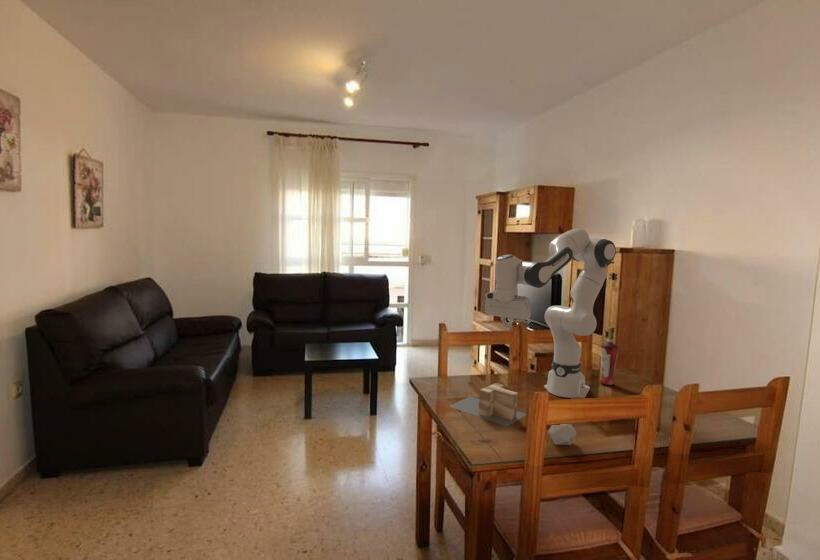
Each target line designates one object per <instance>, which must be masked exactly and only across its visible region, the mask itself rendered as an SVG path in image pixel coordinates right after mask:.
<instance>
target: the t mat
mask: <svg viewBox="0 0 820 560" xmlns="http://www.w3.org/2000/svg"><path fill="white" fill-rule="evenodd" d="M479 400H480V398H476V397H474V396H467V397H466V398H464V399H461V400H459V401H457V402H455V403H453V404H449V405H448V408H451V409H455V410H456V411H457V410H458V411H460V412H462V413H463V412H464V413H466V414H469V415H472V416H475V417H479V418H480V419H484V420H486V421H490V422H493V423H496V424H499V425H501V426H504V427H509V426H510V425H513V424H514V423H515V422H517V421H519V420H520V419H522V418H524V417H526V416H528V413H524V412H522V411H518V410H517V412H516V418H515V419H513V420H508V419H505V418H502V417H499V416H496V415H491V416H489V417H485V416H482V415H479Z"/></svg>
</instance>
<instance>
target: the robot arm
mask: <svg viewBox="0 0 820 560" xmlns="http://www.w3.org/2000/svg"><path fill="white" fill-rule="evenodd" d="M548 252H549V255H550V257H549V258H548V259H547V260H545V261H539V262H538V261H537V262H535V261H525V260H522V259H520V258H518V257H517V256H515V254H512V253H511V254H503V255H500V256H498V257H497V258H496V260H495V264H494V279H495V290H492V291H490V292H486V293H485V294H484V295H485V298H486V299H485V301H484V313H485V314H486V315H487V316H492V317H500V321H501V322H502V324H503V328H504V329H505V328H507V329H512V327H513V323H514V321H515V320H522V321H527V320H529V319H530V317H531V307H530V299H529V298H528V297H526V296H525V295H524V296H522V295H518V293H519V292H518V291H519V290H518V285H524V286H530V287H532V288H537V289H538V288H539V289H540V288H544V287H545V286H546V285H547V284H548V283H549V282H550V281H551V280H552V278H553V277H554V275H556V273H558V272H559V271H561V270H562V269H563V268H564V267H565V266H567V265H568V264H569V263H570V262H571V261H572V260H573V261H576V262H583V263H584V266H583V269H582V270H581V271H580V273H579V275H578V277H577V278H576V279H575V281H574V283H573V286H572V287H571V290H570V294H569V295H570V296H571V298H572V300H573V302H572V306H571V307H568V306H565V305H551V306H549V307H548V308H547V309H546V310H545V312H544V321H545V323H546V324H547V326H548V327H549V330H550V332H551V335H552V339H553V346H554V347H553V348H554V349H553V359H552V362H551V369H550V370H549V371H548V376H547V382H546V384H544V385H543V388H544V389H545V390H547V392H548V393H550V394H552V395H554V396H557V397H560V398H561V397H562V398H567V399H568V398H569V399H572V398H573V399H574V398H578V399H579V398H580V399H581V398H582V399H584V398H586V396H587V394H588V393H589V391H590V386H589V385H586V377H585V375H584V374H583V373H582V372H581V369H582V368H581V367H582V366H583V361H580V358H581V345H580V344H579V342H578V341H577V340H576V338H575V336H574V335H576V336H585V337H586V336H591V335H592V334H593V333H594V332H595V331H596V328H597V318H596V316H595V314H594V305H595V301H596V299H597V297H598V296H599V293H600V292H601V289H602V288H603V286H604V282H605V280H606V278H607V274H608V268H607V267H609V265H610V264H611V263H612V262H613V260H614V258H615V257H616V253H617V247H616V245H615V243H614V241H612V240H609V239H607V238H597V237H590V236H589V234H588V232H587V231H586V230H585V229H583V228H579V227H577V228H573V229H570V230H567V231H565V232H563V233H561V234H560V235H557V236H556V237H555V238H554V239H552V240H551V241H550V243H549V246H548ZM507 318H508V319H507ZM507 320H508V322H507Z"/></svg>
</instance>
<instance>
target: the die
mask: <svg viewBox="0 0 820 560" xmlns="http://www.w3.org/2000/svg"><path fill="white" fill-rule="evenodd" d="M547 433H548V434H549V436H550V437H551V439H552V441H553V443H554V444H556V446H571V445H572V443H573V442H574V439H575V438H576V436H577V432H576V429H575V428H574V426H573V425H572V423H571V424H560V425H552V424H551V425H550V428H549V429H548V432H547Z"/></svg>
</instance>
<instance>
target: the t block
mask: <svg viewBox="0 0 820 560" xmlns="http://www.w3.org/2000/svg"><path fill="white" fill-rule="evenodd" d="M479 399H480V400H479V415H482V416H485V417H489V416H491V415H496V416H499V417H502V418H505V419H508V420H513V419H515V418H516V412H517V411H518V392H516V391H513V390H509V389H506V388H505V385H504V384H501V383H499V382H494V383H492V384H490V385H488V386H485V387H483V388H481V389H480V390H479Z"/></svg>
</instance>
